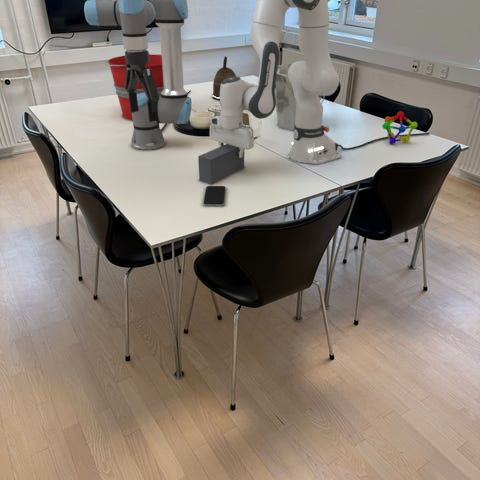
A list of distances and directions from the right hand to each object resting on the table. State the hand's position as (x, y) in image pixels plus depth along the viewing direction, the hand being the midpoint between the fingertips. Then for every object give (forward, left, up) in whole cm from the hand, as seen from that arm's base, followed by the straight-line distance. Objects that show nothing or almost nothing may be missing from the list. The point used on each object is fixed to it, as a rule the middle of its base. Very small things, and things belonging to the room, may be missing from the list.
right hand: (231, 154), depth 180 cm
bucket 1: (+16, -91, -6) cm, 92 cm away
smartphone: (+15, +21, -6) cm, 27 cm away
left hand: (+35, +5, +21) cm, 41 cm away
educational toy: (-84, +1, -6) cm, 84 cm away
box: (+5, +3, -6) cm, 9 cm away
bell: (-41, -109, -6) cm, 116 cm away
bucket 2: (-53, -41, -6) cm, 68 cm away
